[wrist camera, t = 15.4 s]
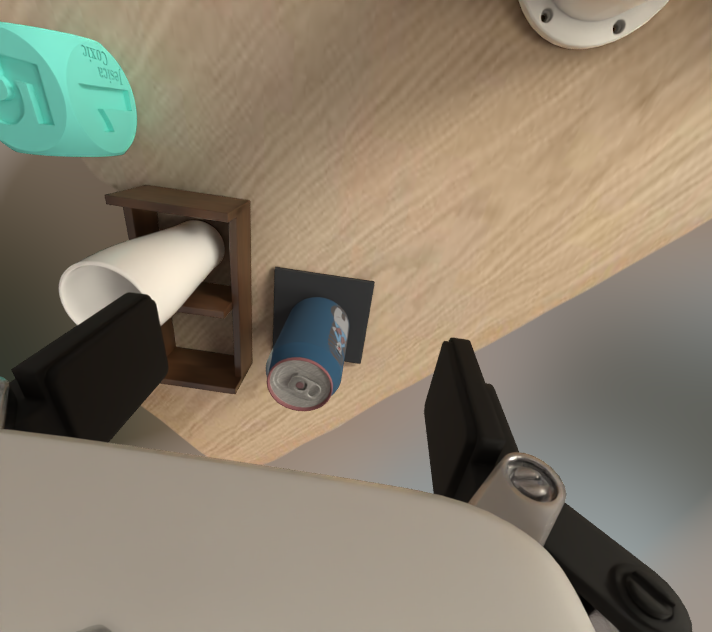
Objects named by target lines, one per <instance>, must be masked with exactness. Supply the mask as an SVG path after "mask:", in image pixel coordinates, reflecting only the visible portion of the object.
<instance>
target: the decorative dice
mask: <svg viewBox="0 0 712 632" xmlns="http://www.w3.org/2000/svg"><path fill="white" fill-rule="evenodd" d="M136 128H137V112H136V105H135V101H134V97H133V93H132V90H131V87H130V85H129V82H128V80H127V78H126V76H125V74H124V72H123V70H122V69H121V67H120V66H119V64H118V63H117V61H116V60H115V59H114V58H113V56H112V55H111V54H110V53H109V52H108V51H107V50H106V49H105V48H104V47H103V46H102V45H101V44H100V43H99V42H97V41H94V40H91V39H88V38H84V37H80V36H76V35H72V34H68V33H63V32H59V31H54V30H48V29H43V28H38V27H32V26H26V25H19V24H12V23H5V22H0V141H1V142H2V143H4V144H5V145H7V146H8V147H9V148H11V149H12V150H14V151H16V152H20V153H26V154H34V155H47V156H67V157H68V156H69V157H104V156H118V155H123V154H125V152H126V151H127V150H128V148H129V147H130V146H131V144H132V142H133V140H134V137H135V134H136Z"/></svg>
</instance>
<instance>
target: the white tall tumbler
mask: <svg viewBox="0 0 712 632" xmlns="http://www.w3.org/2000/svg"><path fill="white" fill-rule="evenodd" d="M224 253H225V246H224V242H223V239H222V237H221V235H220V234H219V233H218V231H217V230H216V229H215V228H214V227H212V226H211V225H209V224H208V223H205V222H203V221H199V220H190V221H186V222H184V223H181V224H179V225H177V226H174V227H171V228H168V229H164V230H161V231H158V232H155V233H151V234H148V235H145V236H141V237H138V238H134V239H131V240H128V241H125V242H122V243H119V244H116V245H113V246H110V247H108V248H106V249H103V250H101V251H99V252H97V253H95V254H92V255H90V256H88V257H86V258H84V259H83V260H81V261H79V262H77V263H75V264H73V265H71V266H70V267H68V268H67V269H66V270H65V271H64V273H63V274H62V276H61V278H60V282H59V296H60V300H61V302H62V305H63V307H64V309H65V311H66V312H67V314H68V315H69V316H70V318H71V319H72V320H73V321H74V322H75V323H76V324H77V325H79V324H80V323H82V322H83V321H85V320H86V319H88V318H89V317H91V316H92V315H94V314H95V313H97V312H98V311H100V310H101V309H103V308H104V307H106V306H107V305H109V304H110V303H112V302H113V301H115V300H116V299H118V298H119V297H121V296H122V295H124V294H125V293H128V292H133V293H140V294H147V295H149V296H150V297H151V299H152V300H154V301H155V302H156V305H157V310H158V315H159V320H160V325H161V326H162V325H163V324H164V323H165V322H166V321H167V320H168V319H170V318H171V317H172V316H173V315H174V314H175V313H176V312H177V311H178V310H179V308H180V307H181V306H182V305H183V304H184V303H185V301H186V300H187V299H188V298H189V297H190V296H191V294H192V293H193V292H194V291H195V290H196V288H197V287H198V286H199V285H200V284H201V283H202V281H203V280H204V279H205V278H206V277H207V276H208V274H209V273H210V272H211V271H212V270H213V269H214V268H215V267H216V266H217V265H219V264H220V262H221V261H222V259H223V257H224Z"/></svg>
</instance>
